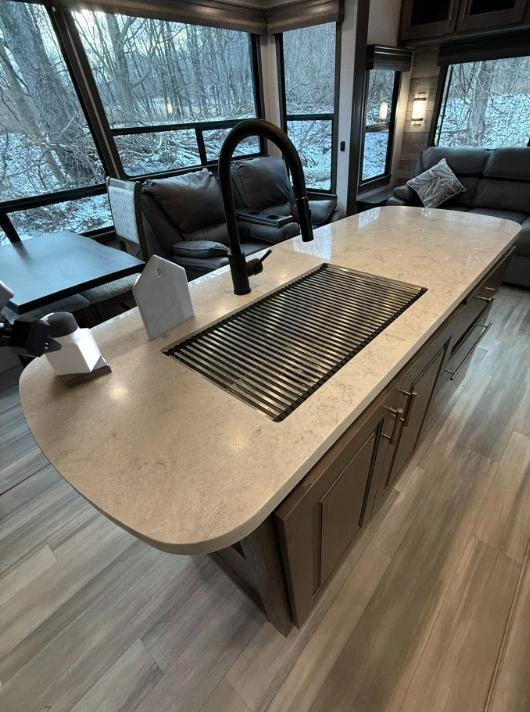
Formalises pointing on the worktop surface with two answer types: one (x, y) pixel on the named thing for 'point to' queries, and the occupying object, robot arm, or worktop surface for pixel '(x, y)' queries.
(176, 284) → the grey house-shaped board
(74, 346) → the medicine bottle
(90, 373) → the brown square tile
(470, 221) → the worktop surface
